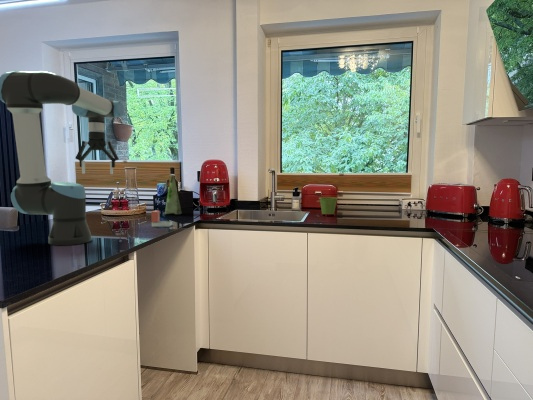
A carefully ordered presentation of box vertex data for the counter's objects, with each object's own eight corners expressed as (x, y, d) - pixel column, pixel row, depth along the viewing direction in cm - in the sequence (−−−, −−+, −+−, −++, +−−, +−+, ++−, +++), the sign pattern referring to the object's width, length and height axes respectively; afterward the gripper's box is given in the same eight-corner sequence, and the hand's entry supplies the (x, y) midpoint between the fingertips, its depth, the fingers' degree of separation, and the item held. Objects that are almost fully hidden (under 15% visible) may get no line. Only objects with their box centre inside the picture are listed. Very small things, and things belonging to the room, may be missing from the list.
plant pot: (316, 214, 243) (316, 197, 242) (334, 214, 244) (335, 197, 243) (320, 217, 231) (321, 198, 230) (339, 217, 232) (340, 198, 231)
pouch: (174, 215, 228) (174, 174, 226) (158, 214, 233) (158, 173, 231) (185, 213, 238) (185, 173, 236) (170, 212, 243) (170, 173, 241)
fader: (157, 222, 189) (157, 211, 188) (151, 222, 189) (151, 211, 188) (159, 220, 194) (159, 210, 193) (153, 220, 194) (153, 210, 193)
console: (170, 226, 190) (170, 222, 190) (151, 226, 189) (151, 222, 189) (171, 225, 195) (171, 221, 194) (153, 225, 194) (153, 221, 194)
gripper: (124, 132, 197) (125, 174, 199) (73, 131, 194) (74, 173, 196) (120, 131, 190) (121, 174, 192) (67, 130, 187) (68, 173, 189)
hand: (97, 174), depth 194 cm, fingers open, 13 cm apart
